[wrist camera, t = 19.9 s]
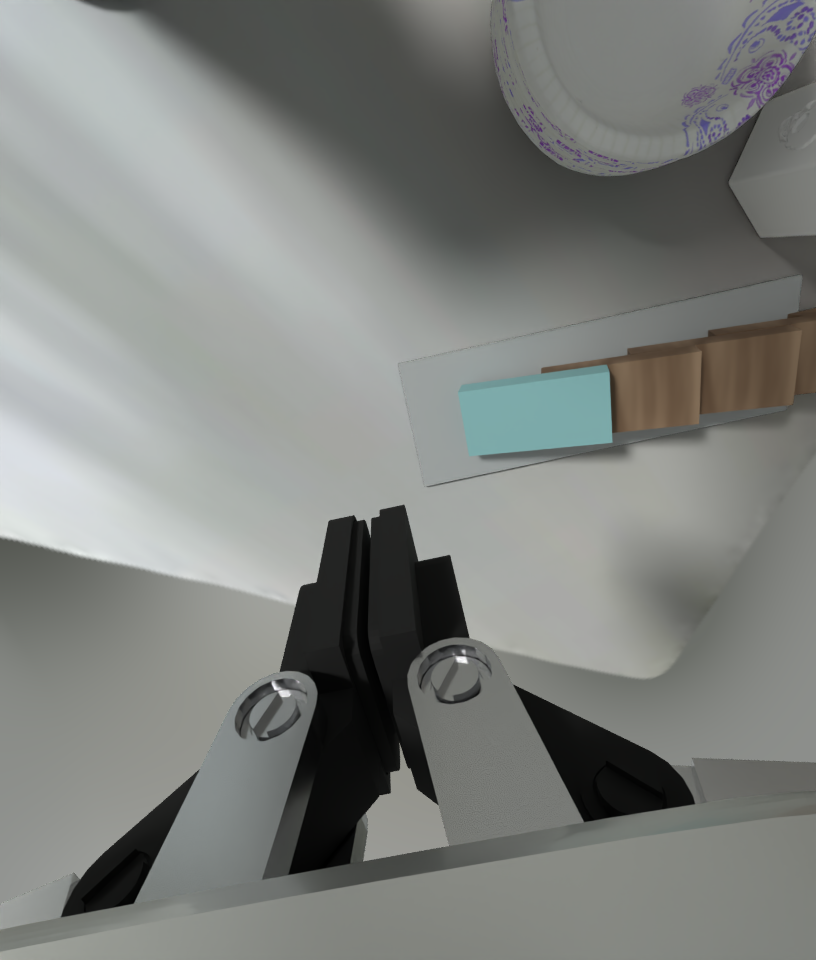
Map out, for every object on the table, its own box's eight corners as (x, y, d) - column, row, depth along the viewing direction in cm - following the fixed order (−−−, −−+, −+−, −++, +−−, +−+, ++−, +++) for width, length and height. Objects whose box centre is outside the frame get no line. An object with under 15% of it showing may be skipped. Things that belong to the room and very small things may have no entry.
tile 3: (631, 421, 36) (792, 404, 33) (630, 354, 34) (801, 330, 31) (628, 413, 38) (782, 396, 35) (627, 348, 36) (790, 324, 33)
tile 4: (711, 403, 36) (881, 385, 33) (715, 335, 34) (896, 308, 31) (705, 396, 38) (866, 378, 35) (708, 330, 36) (880, 304, 33)
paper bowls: (494, -170, 25) (540, -342, 18) (776, -137, 26) (927, -288, 19) (465, 177, 31) (490, 153, 24) (693, 192, 32) (783, 173, 25)
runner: (423, 484, 40) (424, 486, 40) (397, 363, 36) (398, 364, 36) (782, 408, 39) (786, 410, 39) (798, 274, 35) (802, 274, 34)
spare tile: (469, 456, 37) (612, 442, 34) (457, 392, 35) (609, 371, 32) (472, 446, 38) (609, 432, 35) (461, 385, 36) (606, 364, 33)
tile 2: (547, 439, 37) (698, 424, 34) (541, 374, 35) (701, 351, 32) (547, 430, 38) (692, 415, 35) (541, 367, 36) (694, 345, 33)
